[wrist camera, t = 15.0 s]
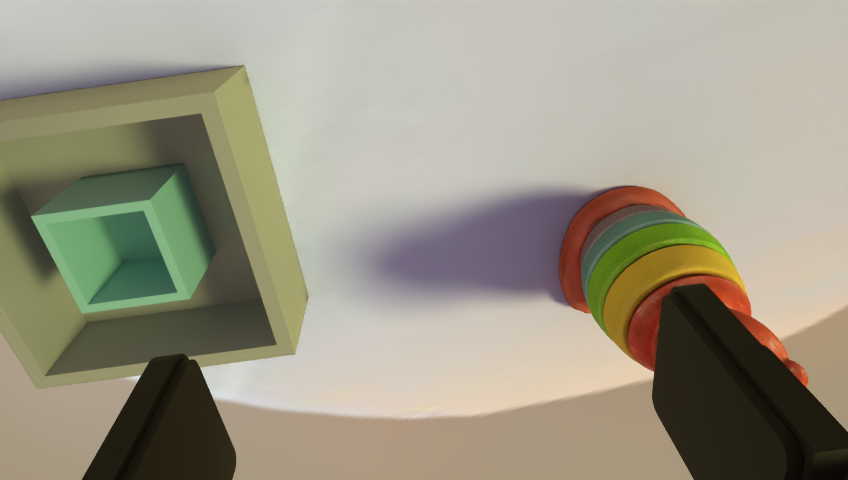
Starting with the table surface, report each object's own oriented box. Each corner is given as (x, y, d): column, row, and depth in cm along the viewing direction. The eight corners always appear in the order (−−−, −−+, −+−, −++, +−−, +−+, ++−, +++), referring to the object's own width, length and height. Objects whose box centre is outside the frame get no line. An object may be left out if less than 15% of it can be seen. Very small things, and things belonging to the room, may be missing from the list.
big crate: (-32, 104, 35) (-121, 139, 29) (244, 65, 35) (213, 92, 29) (86, 326, 44) (37, 389, 38) (308, 296, 44) (295, 354, 38)
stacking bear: (568, 312, 46) (660, 503, 30) (538, 211, 41) (629, 375, 26) (697, 271, 45) (862, 448, 29) (681, 161, 40) (869, 303, 24)
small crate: (81, 177, 37) (30, 216, 32) (184, 162, 37) (150, 199, 32) (122, 265, 40) (82, 313, 35) (216, 252, 40) (190, 298, 35)
